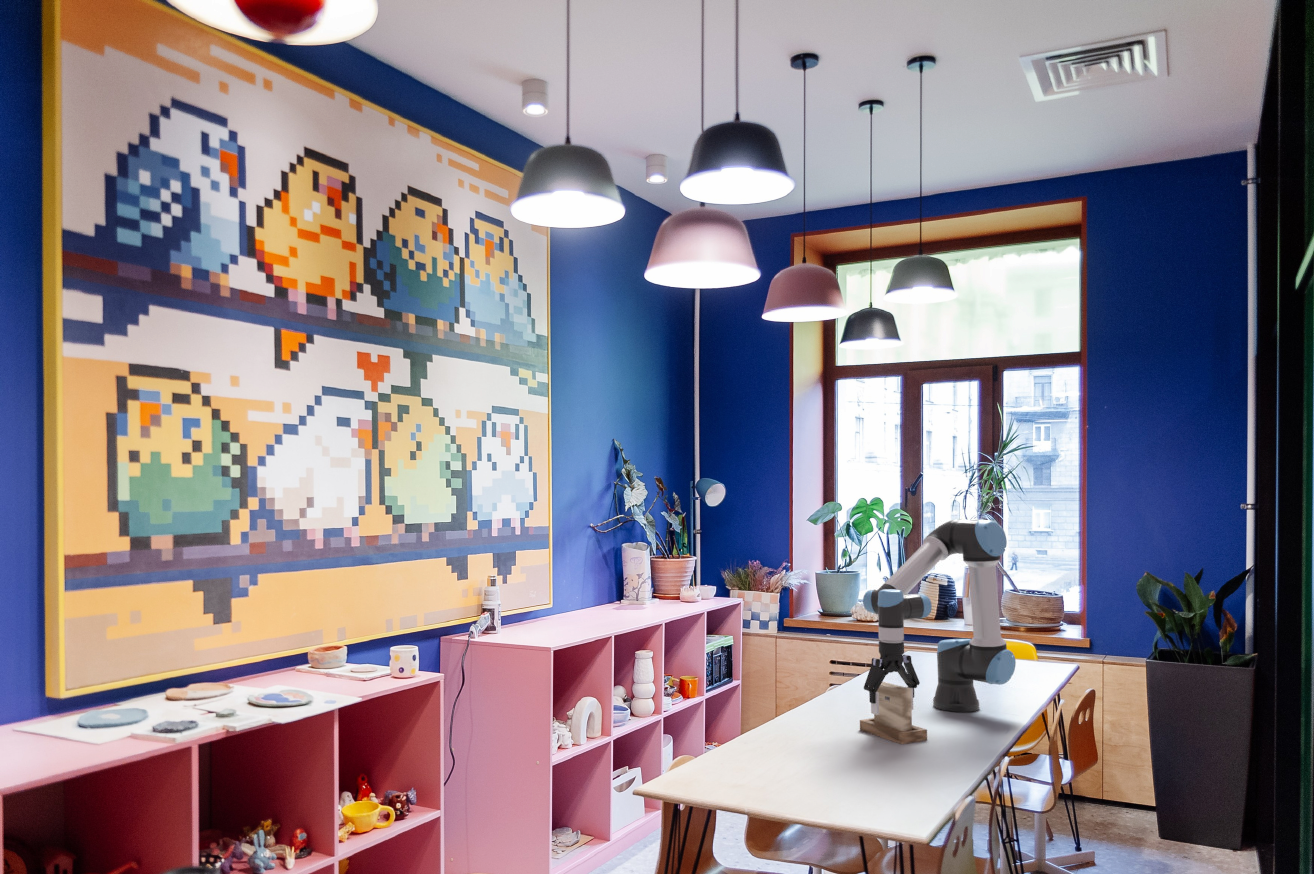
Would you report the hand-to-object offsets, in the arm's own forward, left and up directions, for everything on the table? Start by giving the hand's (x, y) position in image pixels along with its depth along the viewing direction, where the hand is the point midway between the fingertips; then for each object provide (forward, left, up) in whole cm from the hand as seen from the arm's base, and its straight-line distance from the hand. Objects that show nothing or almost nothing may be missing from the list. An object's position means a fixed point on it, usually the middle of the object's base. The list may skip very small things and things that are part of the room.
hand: (892, 711), depth 278 cm
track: (0, 0, -7) cm, 7 cm away
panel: (0, 0, -6) cm, 6 cm away
